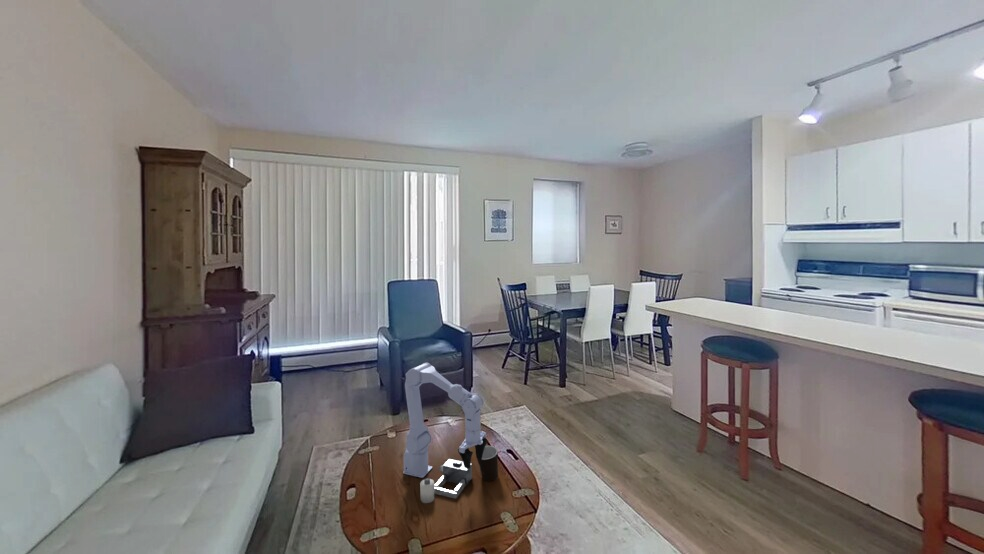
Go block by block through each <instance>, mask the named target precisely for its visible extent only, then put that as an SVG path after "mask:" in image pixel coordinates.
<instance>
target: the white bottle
mask: <svg viewBox="0 0 984 554" xmlns="http://www.w3.org/2000/svg"><path fill="white" fill-rule="evenodd" d="M419 485H420V486H419V487H420V489H419V490H420V492H419V495H420V501H421V503H423V504H430V503H433V502H434V501H435V493H434V485H435V480H434V479H433V478H432V479H431V478H429V477H427V478H424V479H422V480H420V482H419Z"/></svg>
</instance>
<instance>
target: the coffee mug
mask: <svg viewBox="0 0 984 554" xmlns="http://www.w3.org/2000/svg"><path fill="white" fill-rule="evenodd" d="M498 453H499V452H498V448H496V447H495V446H493V445H486V446H485V448H484V452H483V456H482V459H478V458H476V460H477V464H478V467H479V470H480V475H481V478H482V479H483V480H484V481H486V482H490V481H494V480H495V479H497V477H498V476H499V465H498V463H499V459H498V458H499V457H498V456H499V455H498Z"/></svg>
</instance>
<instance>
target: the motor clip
mask: <svg viewBox="0 0 984 554" xmlns="http://www.w3.org/2000/svg"><path fill="white" fill-rule="evenodd" d="M472 465H473V464H472V463H471V464H470V468H469V469H467V468H465V467H464V464H463V460H456V459H452V458H448V459H447V461H445V462H444V464H443V465H442V464H441V465H440V466H439V472H442V476H441V477H440V478H439V479H438V480H437V482H436V483H434V495H439V496H443V497H448V498H452V499H455V500H456V499H457V498H458V497H459V495H460V494H461V493H462V492H463V490H464V489H465V487H466V486H467V485H468V484H469V483H470V481H471V480H472V478H473V472H472V471H473V468H472V467H473V466H472ZM446 482H451V483H453V484H457V485H456V487H455V488H454V489H453V490H452V489H446V488H443V486H444V485H445V484H446Z"/></svg>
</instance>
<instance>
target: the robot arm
mask: <svg viewBox="0 0 984 554" xmlns="http://www.w3.org/2000/svg"><path fill="white" fill-rule="evenodd" d="M428 383H431V384H434V386H436V387H438V388H440V389H441V390H443V391H445V392H446V393H447V394H448V398H450V399H451V400H453V401H454V402H455V403H457V404H458V405H459V406H461V409H462V411H463V413H464V420H465V421H464V425H465V426H464V427H465V429H464V431H465V434H464V435H465V438H464V440H463V441H462V443H461V445H459V447H458V449H457V451H458V454H459V455H460V458H461V461H462V462H463V464H464V467H465V468H467V469H469V468H470V464H472V462H471V461H472V456H473V453H474V452H473V451H470V448H473V447H474V448H475V457H476V459H477V458H478V459H482V456H483V452H484V448H485V446H487V444H488V440H487V432H485V431H483V430H481V424H482V420H481V413H482V412H481V408H482V407H483V406H484V400H483V398H482V396H481V395H480V394H478V393H473V392H471V391H469V390H467V389H465V388H464V387H463V386H462V385H461V384H458V383H455V384H453V383H452V382H450V381H449V380H448V379H447V378H446V377H444V376H443V375H442V374H441V373H439V372H438V370H436V367H435V366H433V365H431V363H429V362H423V363H422V364H420V365H418V366H415V367H413V368H410V369H408V371H407V372H406V373H405V382H404V390H405V397H406V405H407V414H408V420H409V429H408V431H407V434H406V435H405V436H406V442H405V448H406V449H405V451H404V454H403V472H402V474H404V475H408V476H411V477H418V478H420V479H423V478H424V477H425V476H427V474H428V473H429V472H430V471H431V470H432V469H433V466H431V465H429V444H431V442H432V434H431V433H430V430H429V426H427V425H425V422H424V415H423V408H422V399H421V393H420V386H422V384H428Z"/></svg>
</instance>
